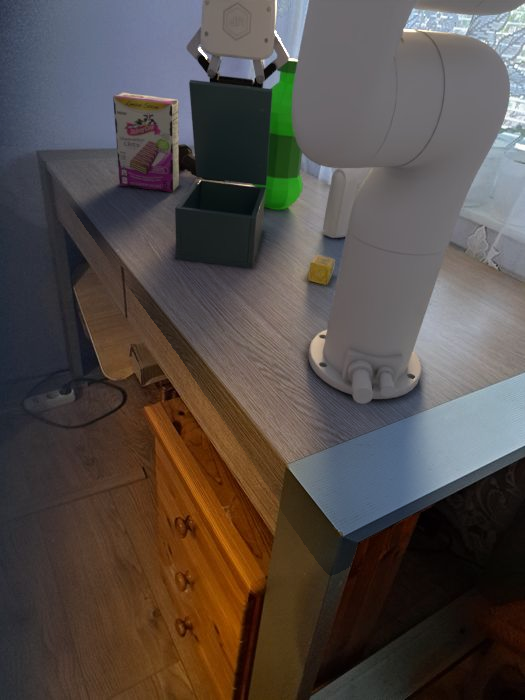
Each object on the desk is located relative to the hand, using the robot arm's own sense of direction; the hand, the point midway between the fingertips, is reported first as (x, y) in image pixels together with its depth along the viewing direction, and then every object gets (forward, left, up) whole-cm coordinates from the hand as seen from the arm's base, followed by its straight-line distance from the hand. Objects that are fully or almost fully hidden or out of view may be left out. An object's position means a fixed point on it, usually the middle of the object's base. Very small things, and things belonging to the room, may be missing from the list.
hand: (235, 108), depth 73 cm
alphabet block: (-15, -16, -19) cm, 29 cm away
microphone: (+26, +11, -19) cm, 34 cm away
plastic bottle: (+15, -7, -19) cm, 25 cm away
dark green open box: (-7, 0, -19) cm, 20 cm away
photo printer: (+5, -21, -19) cm, 29 cm away
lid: (-3, 0, -4) cm, 5 cm away
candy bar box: (+17, +19, -19) cm, 32 cm away
